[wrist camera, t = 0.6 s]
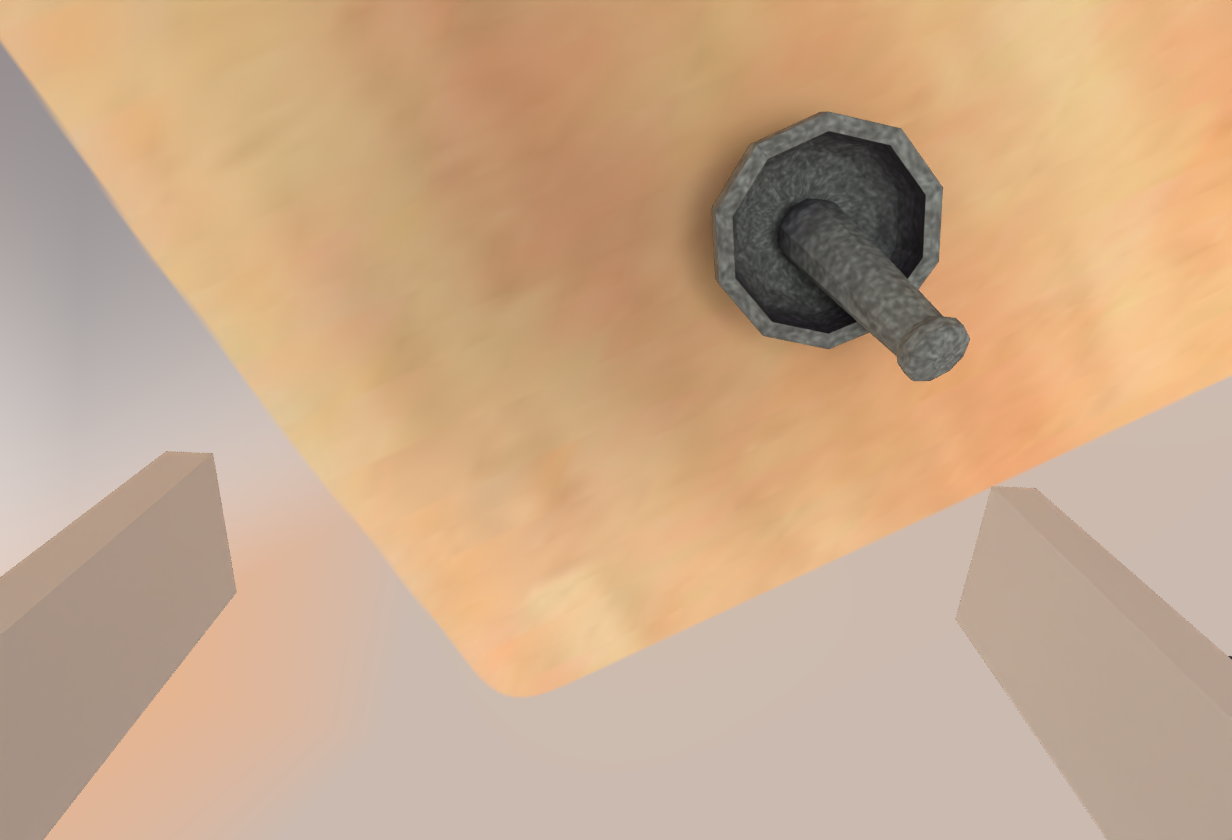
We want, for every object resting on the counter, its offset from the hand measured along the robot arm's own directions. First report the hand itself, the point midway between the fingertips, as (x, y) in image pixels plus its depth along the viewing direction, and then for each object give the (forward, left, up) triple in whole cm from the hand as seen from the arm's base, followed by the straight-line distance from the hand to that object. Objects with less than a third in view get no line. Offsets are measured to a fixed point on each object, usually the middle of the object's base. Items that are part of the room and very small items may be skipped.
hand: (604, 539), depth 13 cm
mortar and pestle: (-4, +9, -28) cm, 30 cm away
